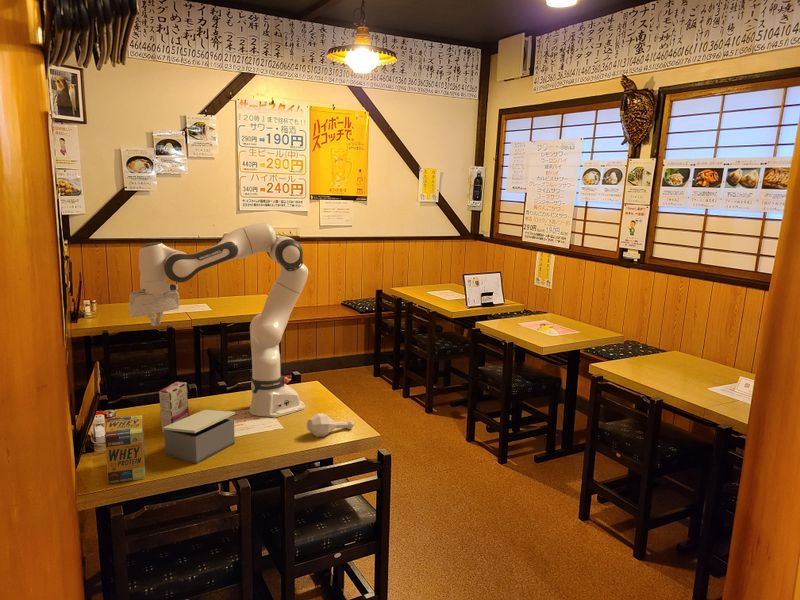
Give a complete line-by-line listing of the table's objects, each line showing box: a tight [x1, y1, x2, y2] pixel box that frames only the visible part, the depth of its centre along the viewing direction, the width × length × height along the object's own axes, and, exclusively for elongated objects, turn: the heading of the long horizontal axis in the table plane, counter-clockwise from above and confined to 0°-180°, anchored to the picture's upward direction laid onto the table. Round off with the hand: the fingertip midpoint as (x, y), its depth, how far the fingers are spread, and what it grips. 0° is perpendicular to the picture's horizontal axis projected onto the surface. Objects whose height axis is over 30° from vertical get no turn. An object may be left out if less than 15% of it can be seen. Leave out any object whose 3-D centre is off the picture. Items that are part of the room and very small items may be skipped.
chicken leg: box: [306, 413, 355, 438], centre depth 217 cm, size 8×18×8 cm, turn 123°
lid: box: [163, 409, 236, 433], centre depth 199 cm, size 14×19×1 cm
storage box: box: [163, 417, 236, 465], centre depth 200 cm, size 14×18×9 cm
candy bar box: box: [158, 381, 190, 434], centre depth 217 cm, size 11×5×16 cm, turn 168°
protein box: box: [104, 414, 146, 485], centre depth 183 cm, size 10×15×16 cm
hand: (155, 324), depth 213 cm, fingers closed
